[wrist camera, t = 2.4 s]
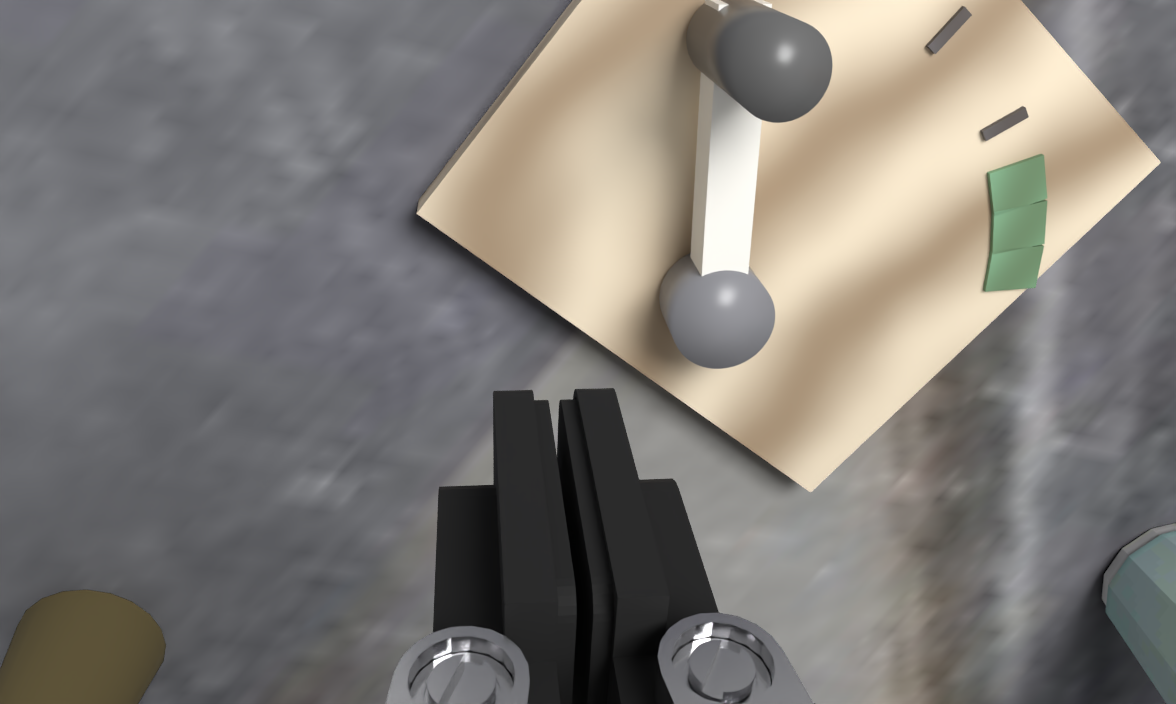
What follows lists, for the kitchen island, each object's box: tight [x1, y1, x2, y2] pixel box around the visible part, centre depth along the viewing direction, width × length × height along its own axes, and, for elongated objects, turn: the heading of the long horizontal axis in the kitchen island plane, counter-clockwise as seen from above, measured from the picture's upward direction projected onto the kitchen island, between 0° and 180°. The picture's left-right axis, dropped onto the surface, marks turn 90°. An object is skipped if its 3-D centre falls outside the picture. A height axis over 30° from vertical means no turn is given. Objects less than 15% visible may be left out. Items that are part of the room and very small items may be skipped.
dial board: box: [417, 0, 1161, 492], centre depth 33 cm, size 20×18×2 cm
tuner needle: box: [659, 0, 833, 369], centre depth 29 cm, size 12×4×6 cm, turn 0°
